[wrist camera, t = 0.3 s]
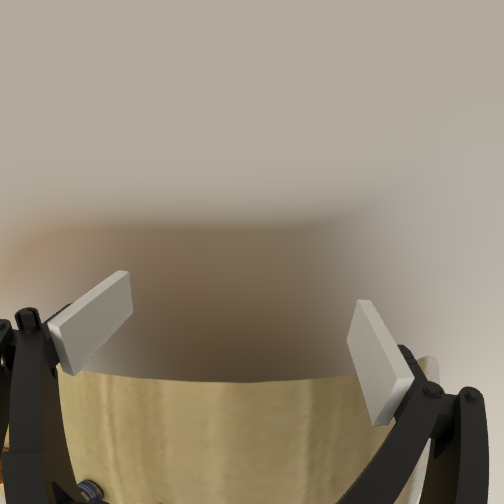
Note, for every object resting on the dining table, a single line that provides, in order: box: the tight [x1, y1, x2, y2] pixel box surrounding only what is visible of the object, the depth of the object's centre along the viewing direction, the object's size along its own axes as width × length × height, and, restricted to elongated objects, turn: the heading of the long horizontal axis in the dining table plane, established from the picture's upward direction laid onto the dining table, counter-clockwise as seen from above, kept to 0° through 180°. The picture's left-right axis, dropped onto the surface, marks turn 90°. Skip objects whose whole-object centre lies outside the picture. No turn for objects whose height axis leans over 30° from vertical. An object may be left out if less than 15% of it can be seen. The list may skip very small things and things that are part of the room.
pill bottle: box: [77, 480, 103, 503], centre depth 31 cm, size 6×6×11 cm
